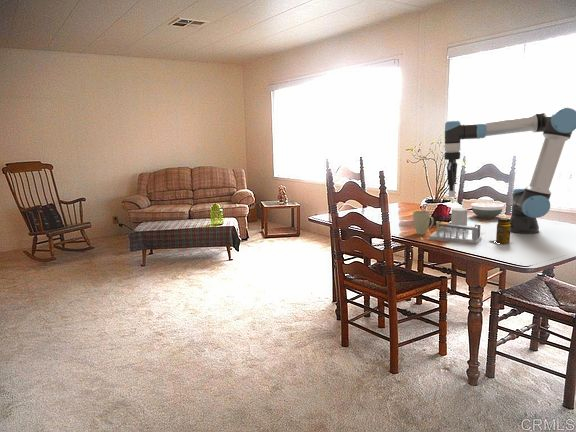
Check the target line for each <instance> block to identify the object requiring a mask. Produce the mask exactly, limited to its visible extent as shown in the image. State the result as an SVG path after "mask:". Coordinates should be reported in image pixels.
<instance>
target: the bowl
mask: <svg viewBox="0 0 576 432" xmlns="http://www.w3.org/2000/svg"><path fill="white" fill-rule="evenodd" d="M470 205H471V210H472V212H473V213H474V215H476V216H477V217H478V218H480V219H489V220H491V219H494V218H496V217H498V216H500V215H501V214H502V212H503V208H504V207H505V205H504V204H503V203H500V202H499V203H498V202H493V201H492V202H490V201H485V202H484V201H482V202H481V201H479V202H478V201H477V202H472V203H471V204H470Z"/></svg>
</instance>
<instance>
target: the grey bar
mask: <svg viewBox="0 0 576 432" xmlns="http://www.w3.org/2000/svg"><path fill="white" fill-rule="evenodd" d="M439 226H440V227H445V228H447V227H449V228H450V229H451V228H458V229H467V230H469V231H472V227H478V230H479V229H480V230H481V226H480V227H479V226H475V225H474V226H472V225H471V226H470V225H467V226H464V225H455V224H451V223H450V222H445V221H440V224H439Z"/></svg>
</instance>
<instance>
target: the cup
mask: <svg viewBox="0 0 576 432" xmlns="http://www.w3.org/2000/svg"><path fill="white" fill-rule="evenodd" d="M450 219H451V220H450V224H455V225H464V226H468V208H463V207H454V208H451V218H450ZM451 229H452V228H450V230H451ZM457 230H458V228H456V231H457ZM464 230H465V229H462V233H463V231H464Z"/></svg>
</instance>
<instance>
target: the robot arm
mask: <svg viewBox="0 0 576 432" xmlns="http://www.w3.org/2000/svg"><path fill="white" fill-rule="evenodd" d="M575 130H576V110H575V109H574V108H570V107H560V108H553V109H552V108H551V109H548V110H545V111H542V112H536V113H532V114H531V115H528V116H522V117H521V116H519V117H513V118H506V119H498V120H490V121H482V122H474V123H466V124H462V122H461V121H460V120H452V121H449V120H448V121H446V122H445V124H444V145H443V148H444V160H446V161H447V160H448V161H447V165H446V172H447V186H448V197H449V198H455V196H456V185H457V184H458V183H457V173H458V171H457V170H458V162H457V160H461V152H460V151H461V140H474V139H475V140H476V139H479V140H480V139H484V138H486V137H488V136H489V137H490V136H498V135H500V136H501V135H507V134H515V133H524V132H525V133H526V132H533V133H542V135H543V137H544V140H543V143H542V146H541V149H540V152H539V156H538V158H537V162H536V165H535V166H534V167H535V168H534V171H533V174H532V178H531V180H530V183H529V185H528V186H526V187H524V188H514V189H513V190H512V194H511V195H512V196H511V197H512V199H511V212H510V213H511V215H510V217H509V219H510V225H511V230H510V233H511V232H512V233H518V234H536V233H539V231H540V227H539V223H538V218H542V217H544V216H545V215H547V214H548V213H549V211H550V208H551V201H550V198H551V195H552V192H551V191H550V187H551V184H552V181H553V178H554V175H555V173H556V170H557V167H558V163H559V160H560V158H561V156H562V155H561V154H562V152H563V149H564V146H565V143H566V141H568V140H570V139H571V137H572V134H573V131H575Z"/></svg>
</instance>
